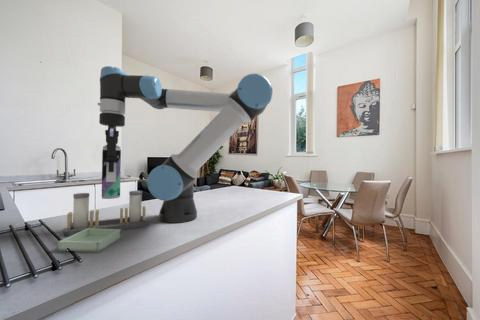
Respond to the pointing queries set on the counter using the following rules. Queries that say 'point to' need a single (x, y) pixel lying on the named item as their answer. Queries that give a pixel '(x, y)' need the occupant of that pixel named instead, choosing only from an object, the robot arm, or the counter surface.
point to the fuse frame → (106, 222)
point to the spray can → (113, 188)
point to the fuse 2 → (135, 206)
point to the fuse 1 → (80, 210)
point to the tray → (90, 240)
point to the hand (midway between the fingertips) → (111, 180)
